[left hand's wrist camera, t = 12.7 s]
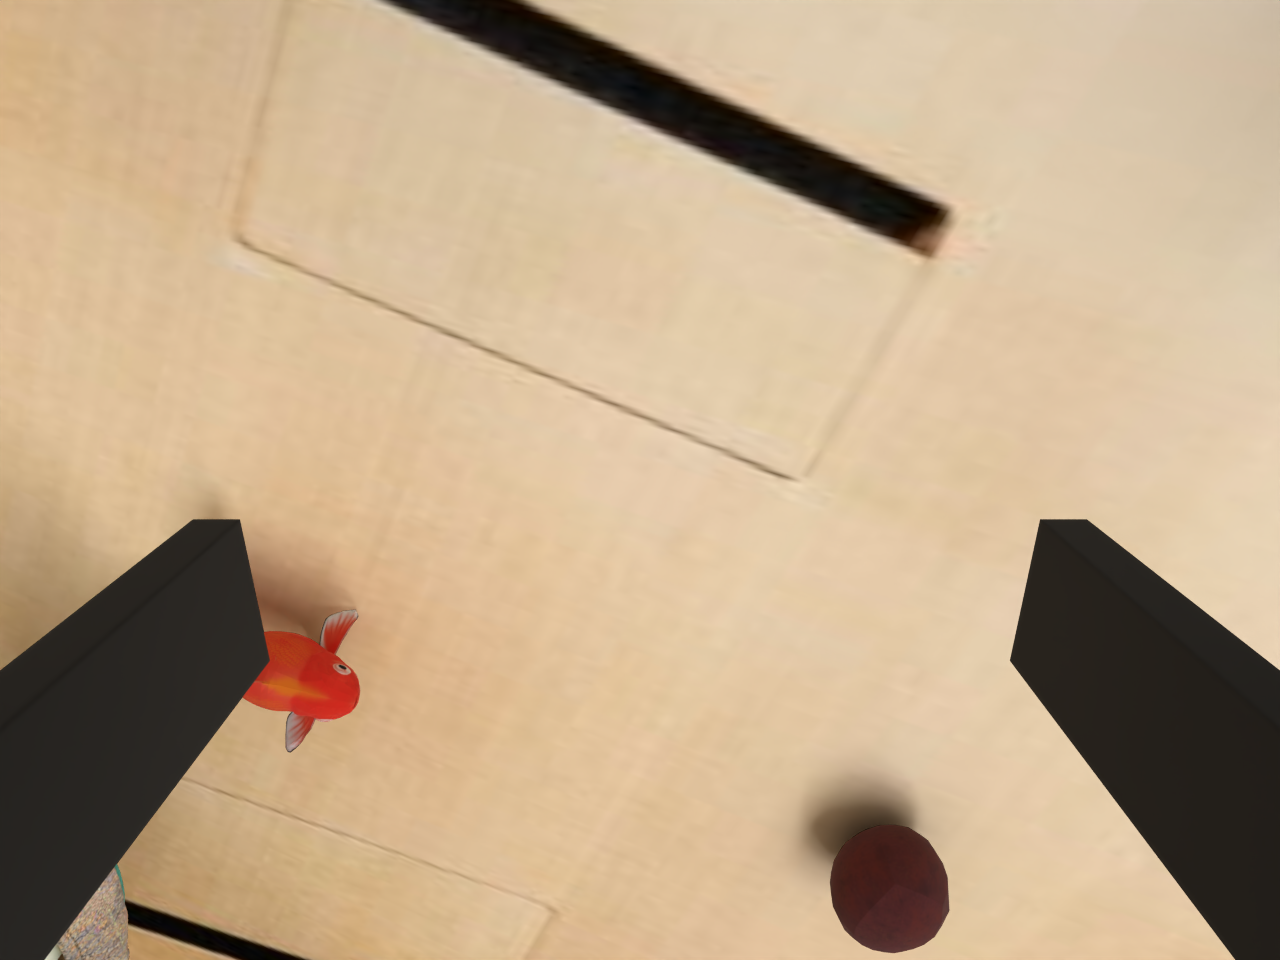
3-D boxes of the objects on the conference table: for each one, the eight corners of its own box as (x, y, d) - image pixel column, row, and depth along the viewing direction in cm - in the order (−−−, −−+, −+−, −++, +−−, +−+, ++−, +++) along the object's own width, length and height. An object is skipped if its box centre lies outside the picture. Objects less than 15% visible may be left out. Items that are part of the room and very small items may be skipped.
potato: (799, 862, 54) (821, 958, 47) (859, 784, 51) (892, 875, 45) (888, 896, 55) (922, 995, 48) (951, 822, 52) (996, 915, 46)
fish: (322, 807, 46) (196, 864, 36) (151, 649, 50) (-5, 663, 40) (425, 658, 46) (327, 675, 36) (247, 511, 50) (114, 491, 40)
